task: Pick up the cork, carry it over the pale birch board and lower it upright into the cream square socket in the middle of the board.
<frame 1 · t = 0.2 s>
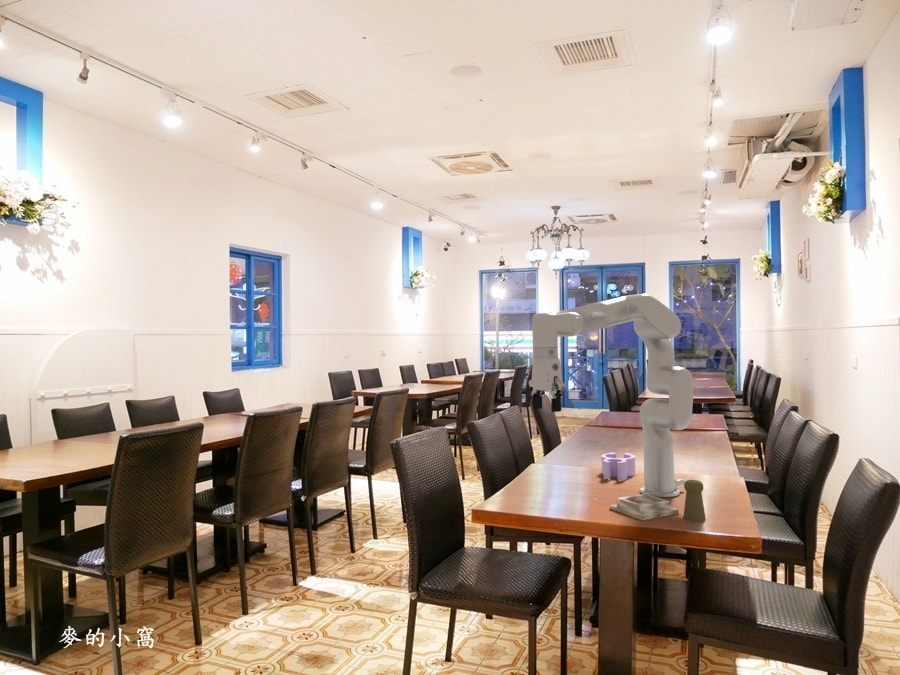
hand: (546, 410, 193), 31 cm above the table, tool pointing down, fingers open, 9 cm apart
clip: (617, 476, 242), on the table
socket board: (643, 511, 192), on the table
cork: (694, 519, 183), on the table
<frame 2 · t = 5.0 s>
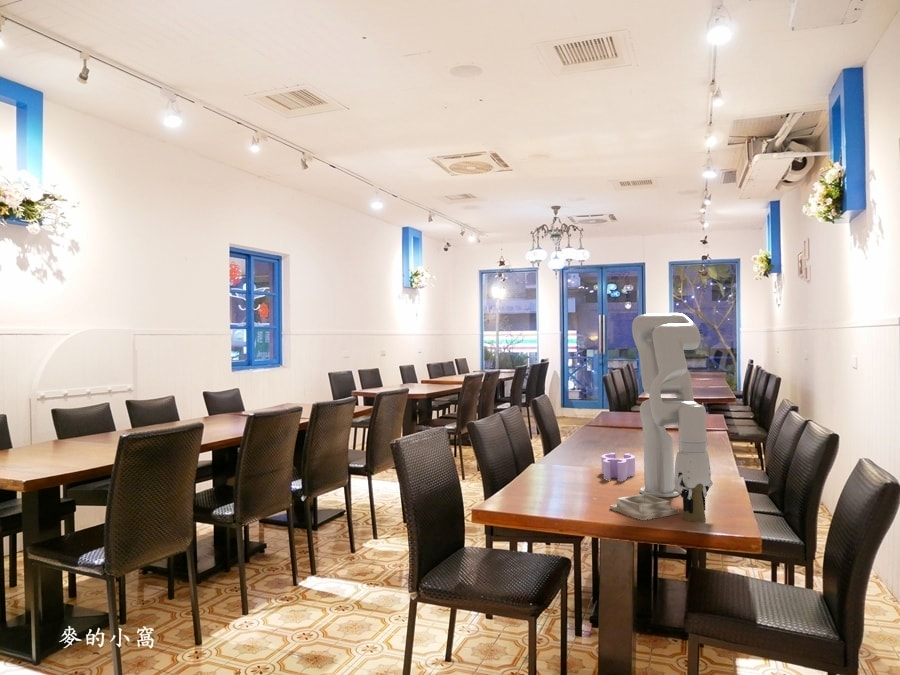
hand: (694, 510, 183), 2 cm above the table, tool pointing down, fingers closed on cork, 4 cm apart
cork: (694, 519, 183), on the table, touching gripper
everything else where it was.
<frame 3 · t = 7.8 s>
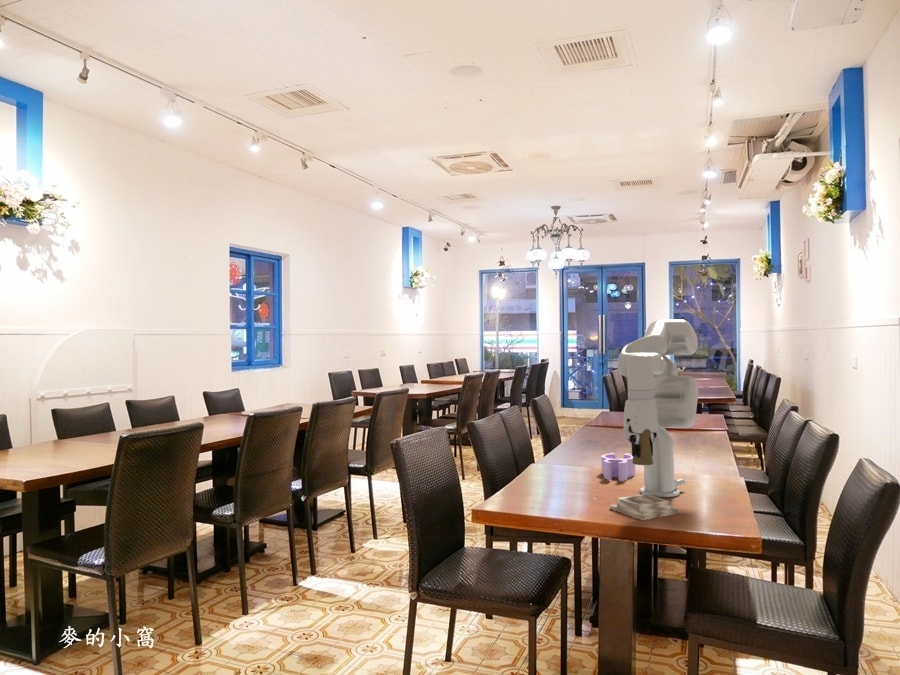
hand: (642, 455, 192), 17 cm above the table, tool pointing down, fingers closed on cork, 4 cm apart
cork: (642, 463, 192), point 14 cm above the table, touching gripper
everything else where it was.
when the fingers open (5 cm above the table, at t = 10.6 s): cork drops 1 cm, resting on socket board.
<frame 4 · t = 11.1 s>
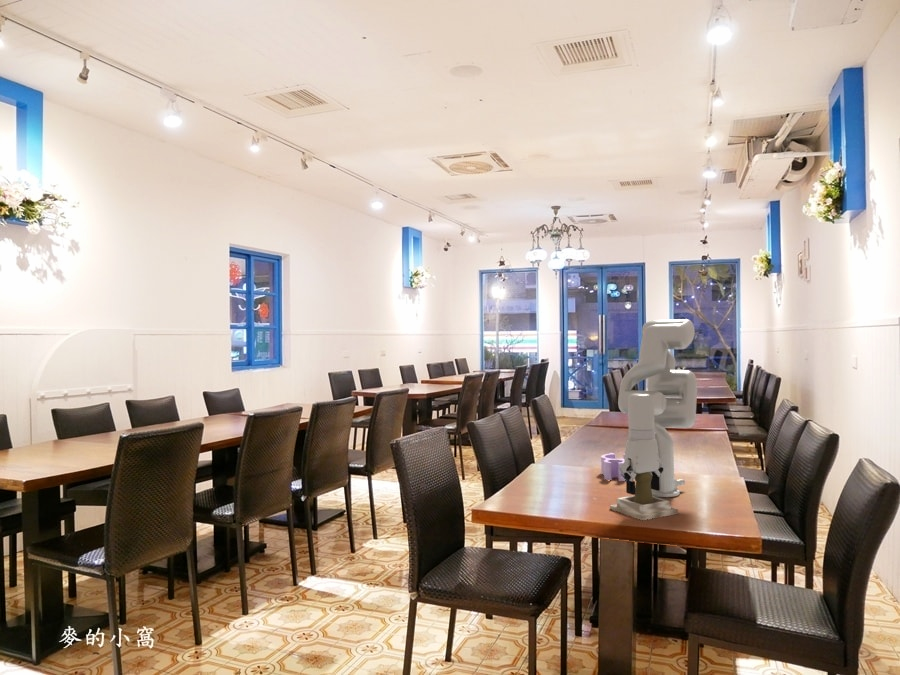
hand: (643, 491, 192), 6 cm above the table, tool pointing down, fingers open, 9 cm apart
cork: (643, 507, 192), point 1 cm above the table, touching socket board
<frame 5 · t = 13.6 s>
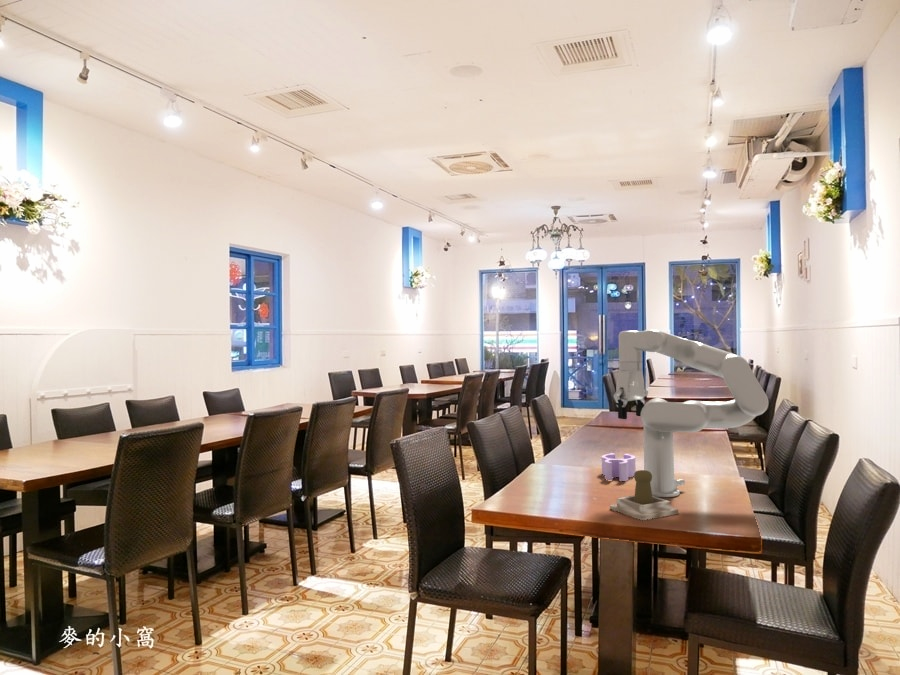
hand: (631, 417, 216), 25 cm above the table, tool pointing down, fingers open, 9 cm apart
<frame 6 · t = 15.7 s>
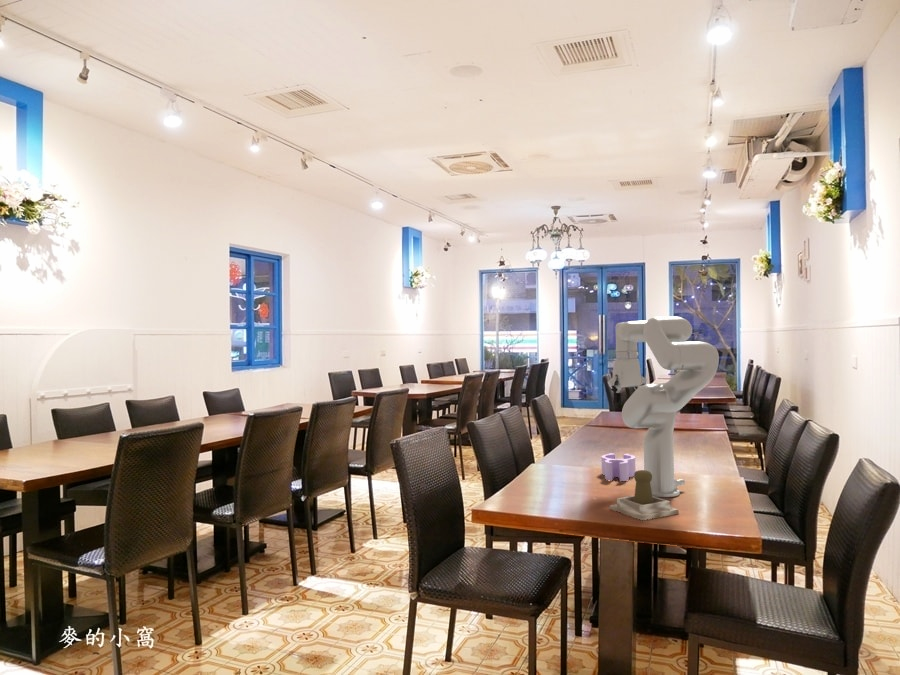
hand: (627, 402, 233), 28 cm above the table, tool pointing down, fingers open, 9 cm apart
at the end: cork 0.2 cm off-centre on the socket board, point 1.0 cm above the socket board's base; cork tilted 0°; the gripper is holding nothing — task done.
